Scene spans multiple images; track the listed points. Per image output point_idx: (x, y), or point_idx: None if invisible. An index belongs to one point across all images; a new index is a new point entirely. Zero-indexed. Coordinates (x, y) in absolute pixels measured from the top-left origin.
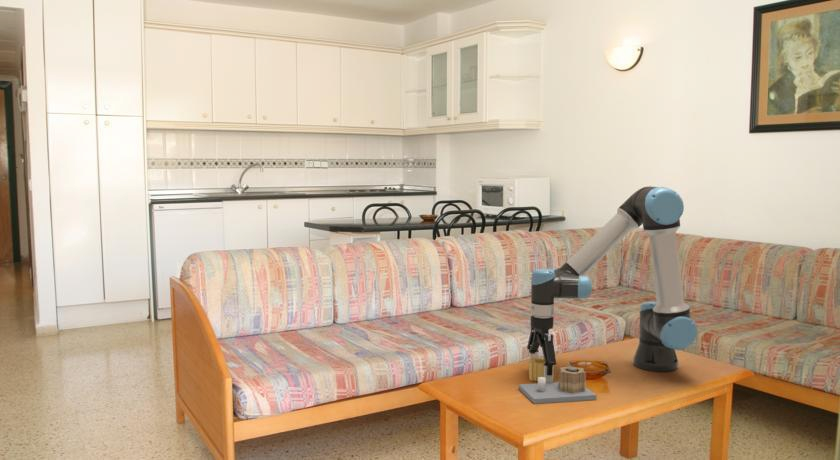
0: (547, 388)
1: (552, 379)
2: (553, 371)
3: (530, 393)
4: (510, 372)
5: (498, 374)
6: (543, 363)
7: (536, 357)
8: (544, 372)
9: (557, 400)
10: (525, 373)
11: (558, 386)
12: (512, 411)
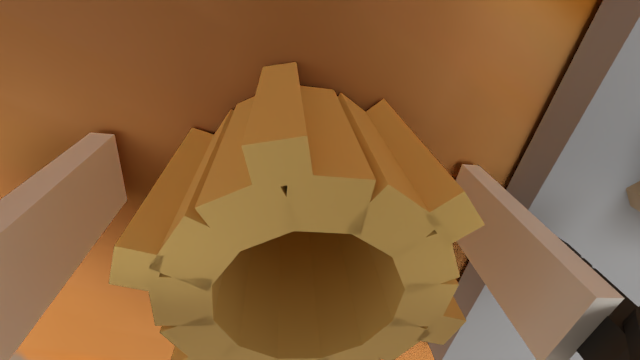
0: None
1: (502, 188)
2: (415, 136)
3: (579, 358)
4: (94, 297)
5: (139, 354)
6: (419, 315)
7: (6, 250)
8: (500, 291)
9: None
10: (123, 221)
11: (632, 205)
12: None
